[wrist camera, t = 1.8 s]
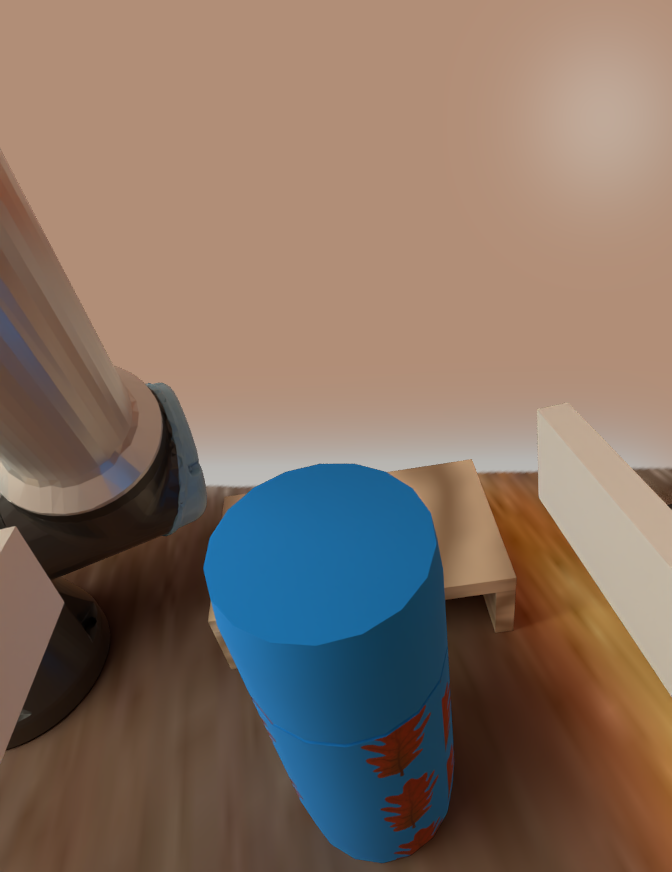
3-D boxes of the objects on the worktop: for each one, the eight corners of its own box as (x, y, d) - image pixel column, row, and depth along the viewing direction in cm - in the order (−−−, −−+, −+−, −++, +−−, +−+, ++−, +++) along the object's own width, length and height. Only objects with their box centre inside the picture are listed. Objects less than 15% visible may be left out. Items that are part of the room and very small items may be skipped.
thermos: (285, 735, 44) (183, 505, 29) (411, 678, 46) (378, 435, 31) (334, 899, 36) (227, 697, 21) (485, 821, 38) (490, 584, 23)
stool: (231, 669, 49) (207, 621, 45) (242, 544, 60) (224, 496, 56) (513, 630, 48) (516, 577, 44) (472, 510, 59) (471, 459, 55)
